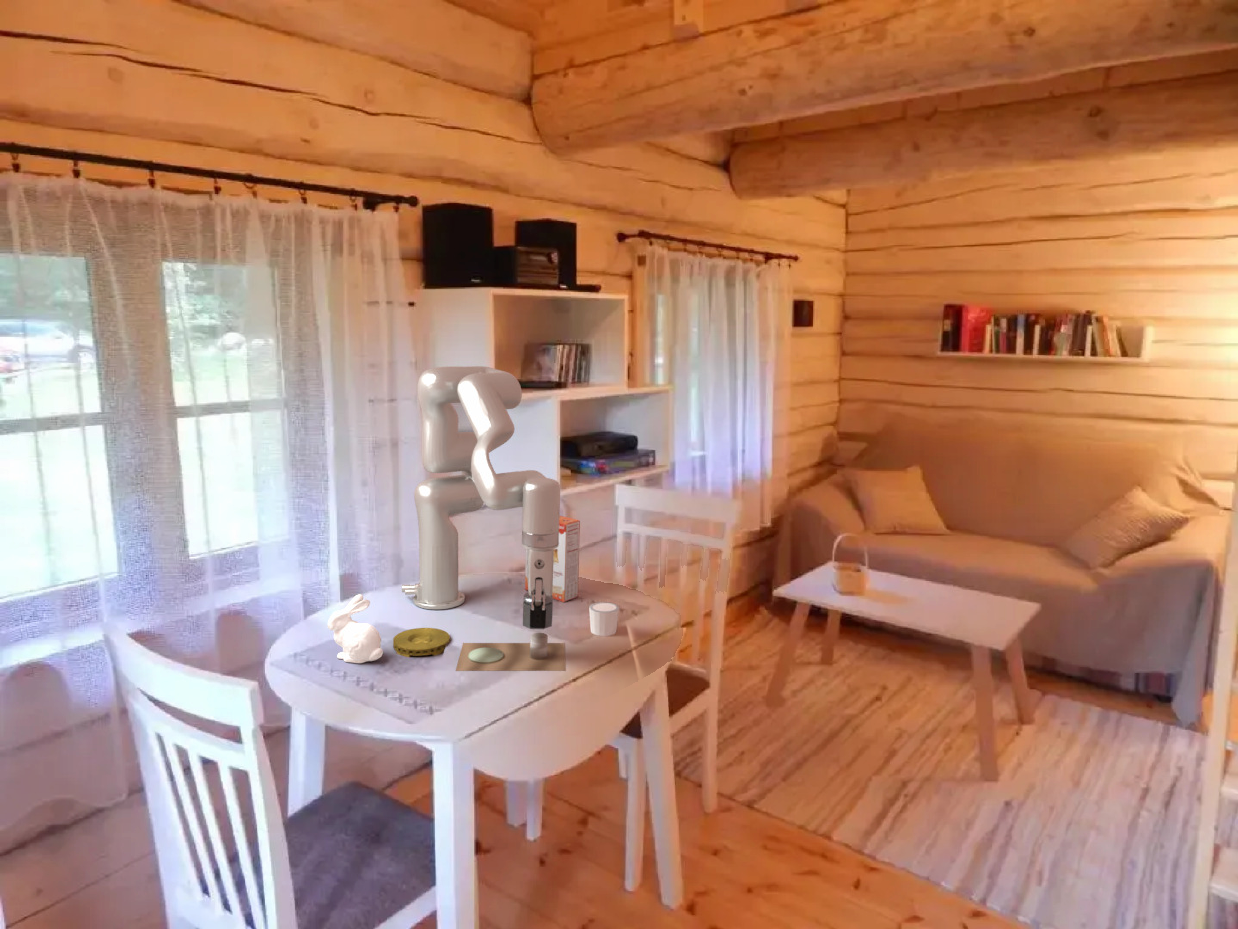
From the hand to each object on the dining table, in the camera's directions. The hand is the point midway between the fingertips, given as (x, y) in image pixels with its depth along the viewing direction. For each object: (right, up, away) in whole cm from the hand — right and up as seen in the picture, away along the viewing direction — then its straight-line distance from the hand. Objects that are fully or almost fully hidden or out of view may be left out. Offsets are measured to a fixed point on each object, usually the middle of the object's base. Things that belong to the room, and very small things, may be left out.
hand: (537, 620), depth 172 cm
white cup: (+13, -7, +16) cm, 22 cm away
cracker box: (-1, -1, +43) cm, 43 cm away
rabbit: (-39, -8, +1) cm, 39 cm away
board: (-5, -9, +1) cm, 10 cm away
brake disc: (-26, -8, +7) cm, 28 cm away
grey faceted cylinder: (0, -1, 0) cm, 1 cm away
